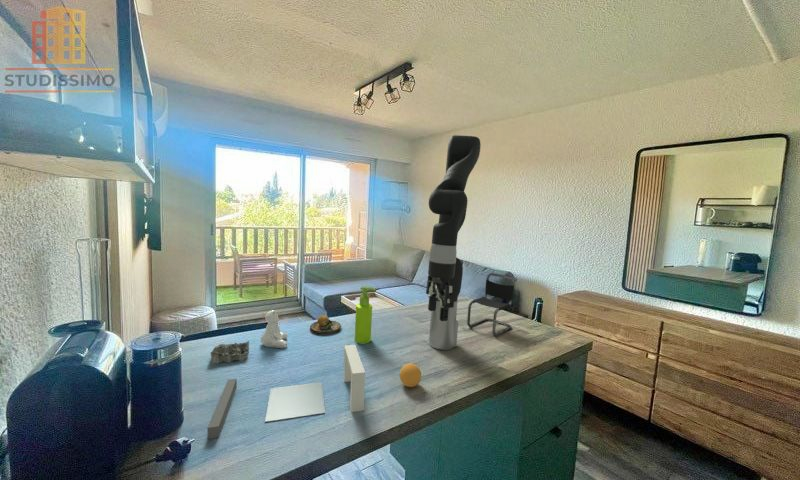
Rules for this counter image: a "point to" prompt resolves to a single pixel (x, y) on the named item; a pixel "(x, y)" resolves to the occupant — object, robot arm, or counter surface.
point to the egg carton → (223, 352)
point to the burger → (325, 326)
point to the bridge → (354, 377)
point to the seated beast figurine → (273, 332)
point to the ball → (410, 375)
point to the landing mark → (295, 402)
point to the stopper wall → (222, 409)
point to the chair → (498, 292)
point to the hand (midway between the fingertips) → (437, 315)
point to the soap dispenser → (363, 318)
